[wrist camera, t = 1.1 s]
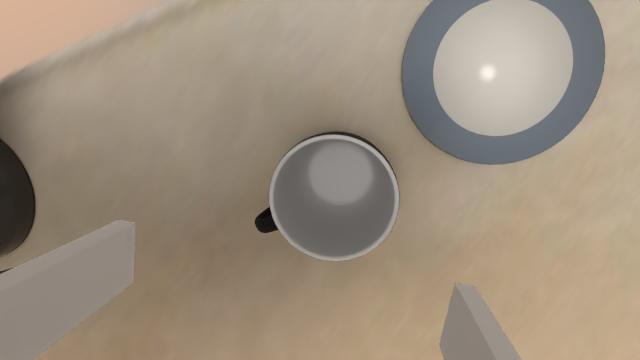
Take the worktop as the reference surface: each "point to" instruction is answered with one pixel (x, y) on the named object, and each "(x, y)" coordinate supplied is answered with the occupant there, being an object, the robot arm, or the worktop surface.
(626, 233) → the worktop surface
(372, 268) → the worktop surface
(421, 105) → the saucer
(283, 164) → the mug
